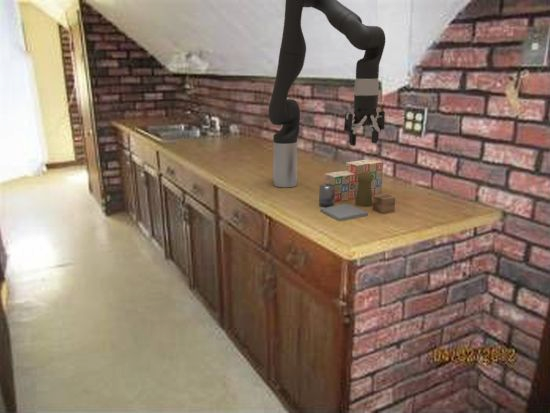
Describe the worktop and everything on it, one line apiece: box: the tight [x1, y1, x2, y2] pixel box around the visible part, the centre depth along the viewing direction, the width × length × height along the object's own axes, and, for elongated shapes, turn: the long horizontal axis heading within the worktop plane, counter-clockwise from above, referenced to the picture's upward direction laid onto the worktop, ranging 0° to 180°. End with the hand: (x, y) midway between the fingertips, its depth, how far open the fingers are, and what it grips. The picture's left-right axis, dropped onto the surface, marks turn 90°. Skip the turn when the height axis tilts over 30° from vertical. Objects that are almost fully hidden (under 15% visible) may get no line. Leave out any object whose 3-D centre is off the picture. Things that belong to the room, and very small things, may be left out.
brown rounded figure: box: [354, 172, 373, 208], centre depth 161 cm, size 6×6×11 cm
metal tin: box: [318, 183, 335, 208], centre depth 161 cm, size 5×5×7 cm
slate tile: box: [319, 203, 369, 222], centre depth 153 cm, size 11×11×1 cm
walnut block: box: [372, 193, 396, 215], centre depth 155 cm, size 5×5×5 cm
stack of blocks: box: [324, 158, 384, 203], centre depth 171 cm, size 21×6×12 cm, turn 118°
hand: (363, 144), depth 154 cm, fingers open, 8 cm apart
